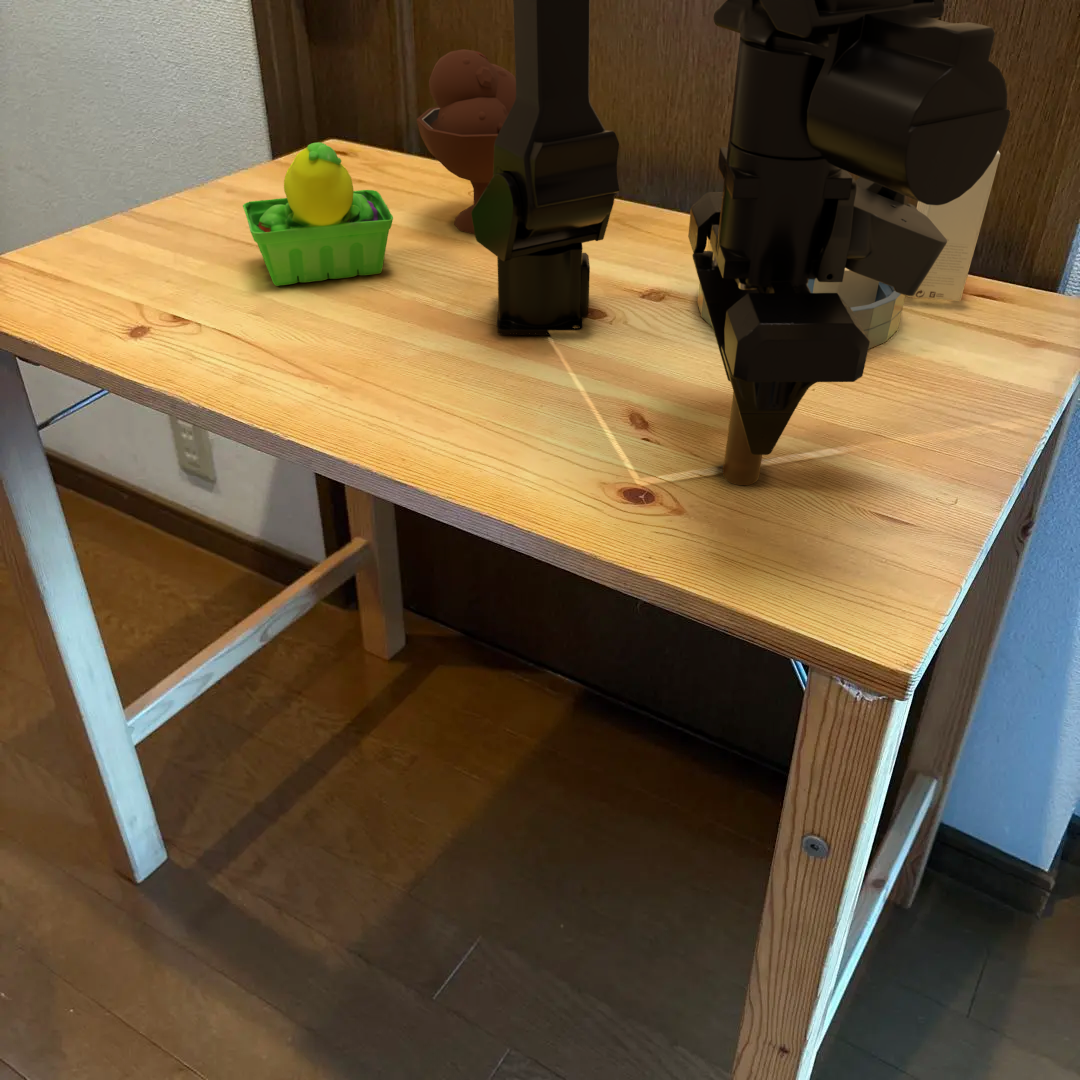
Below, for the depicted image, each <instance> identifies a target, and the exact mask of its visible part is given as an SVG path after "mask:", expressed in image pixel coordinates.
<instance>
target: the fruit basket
mask: <svg viewBox="0 0 1080 1080" xmlns="http://www.w3.org/2000/svg"><path fill="white" fill-rule="evenodd" d="M283 191H284V194H285V197H281V198H272V199H260V200H252V201H251V200H250V201H247V202H245V203H243V205H242V208H243V211H244V214H245V217H246V220H247V225H248V228H249V233H250V234H251V237H252V239H253V241H254V242H255V243H256V244H257V247H258V250H259V252H260V254H261V256H262V259H263V261H264V264H265V266H266V269H267V271H268V274H269V276H270V278H271V281H272V283H273V285H274V286H276V287H279V286H288V285H294V284H298V283H311V282H322V281H325V280H329V279H330V280H337V279H346V278H347V279H348V278H353V277H357V276H372V275H379V274H381V273H382V272H383V267H384V261H385V256H386V255H385V254H386V250H387V243H388V237H389V234H390V233H389V232H390V230H391V228H392V225H393V220H394V216H393V214H392V213H391V211H390V209H389V207H388V206H387V204H386V202H385V200H384V199H383V196H382V195H381V194H380V192H379V191H378V190H373V189H361V190H359V189H358V190H354V185H353V180H352V176H351V175H350V172H349V170H348V169H347V168H346V167H345V165H343V164H342V159H341V158H340V157H338V155H337V152H336V151H335V150H334V149H333V148H332V147H331V146H329V145H327V144H325V143H323V142H312V143H310V144H308V145H307V146H306V147H305V148H304V149H302V150H300V151H299V152H298V153H297V154H296V156H295V157H294V159H293V161H292V162H291V164H290V165H289V167H288V168H287V171H286V173H285V175H284V179H283Z"/></svg>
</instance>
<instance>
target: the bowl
mask: <svg viewBox="0 0 1080 1080" xmlns="http://www.w3.org/2000/svg"><path fill="white" fill-rule="evenodd" d="M814 282H815V278H812V279H809V280H808V284H807V285H808V287H809V289H810V291H811V293H813V288H814ZM697 292H698V293H697V302H696V303H697V306H698V311H699V313H700V316H701V318H702V319H703V320H704V321H705V323H707V324H708V325H709V326H710V327H711V328H712V329H713V326H712V323H711V320H710V316H709V313H708V309H707V306H706V302H705V299H704V295H703V292H702V289H701V285H700V283H698V291H697ZM906 297H907V296H906V295H903V294H900V293H897V292H896V291H895V290H894V287H892V286H890V285H887V284H884V283H882V282H879V285H878V290H877V294H876V299H875V302H874V303H871V304H869V305H863V306H857V307H851V309H852V311H853V312H854V314H855V316H856V318H857V320H858V321H859V323H860V325H861V327H862V328H863V330H864V332H865V334H866V335H867V337H868V339H869V341H870V343H869V348H868V350H871V349H872V348H875V347H877V346H880V345H881V344H884V343H886V342H887V341H888V340H889V339H890V338H891V337H892V336H893V335H894V334H895V333H896V332H897V331H898V329H899V326H900V321H901V318H902V314H903V309H904V305H905V300H906Z"/></svg>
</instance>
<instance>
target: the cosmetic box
mask: <svg viewBox="0 0 1080 1080" xmlns="http://www.w3.org/2000/svg"><path fill="white" fill-rule="evenodd" d="M1000 158H1001V153H1000V151H999V150H998V152H997V154H996V156H995V157H994V159H993V161H992V163H991V164H990V165H989V167H988V168H987V170H986V171H985V173H984V174H983V176H982V177H981V178H980V179H979V180H978V181H977V182H976V183H975V184H974V185H973V186H972V187H971V188H970V189H969V190H968V191H966V192H965V193H964V194H963V195H961V196H960V197H958V198H956V199H954V200H952V201H950V202H948V203H946V204H943V205H927V204H925V203H922V202H920V201H917V204H916V207H915V208H916V209H917V210H918V211H919V212H921V213H923V214H924V215H925V216H927V217H928V218H929V219H930V220H931V221H932V223H933V224H934V225H935V226H936V227H937V229H938V230H939V231H940V232H941V233H942V235H943V236H944V237H945V238H946V240H947V243H946V245H945V247H944V248H943V250H942V251H941V253H940V255H939V256H938V258H937V259H936V261H935V263H934V264H933V266H932V267H931V269H930V271H929V272H928V274H927V275H926V277H925V279H924V280H923V282H922V284H921V285H920V287H919V288H918V290H917V292H916V293H915V295H914V296H906V297H908V298H916V299H925V300H926V299H927V300H936V301H937V300H938V301H952V302H961V301H962V297H963V294H964V291H965V286H966V282H967V279H968V275H969V271H970V268H971V264H972V260H973V257H974V254H975V249H976V246H977V242H978V239H979V234H980V232H981V228H982V224H983V220H984V217H985V213H986V210H987V206H988V202H989V198H990V194H991V191H992V187H993V185H994V180H995V177H996V172H997V170H998V165H999V161H1000Z"/></svg>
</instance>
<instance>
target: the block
mask: <svg viewBox="0 0 1080 1080" xmlns="http://www.w3.org/2000/svg"><path fill="white" fill-rule="evenodd" d="M878 285H879V281H876V280H874V279H871V278H868V277H865V276H863V275H860V274H857V273H855V272H853V271H850V270H848V269H847V268H845V271H844V276H843V281H842V282H819V281H818V280H817V278H815V282H814V288H813V293H838V295H839V296H840V297H841V298H842V299H843V300H844V301H845V303H846V304H847V305H848V306H849V307H850V308H851V307H857V306H863V305H869V304H871V303H874V302H875V299H876V294H877V290H878Z"/></svg>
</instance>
